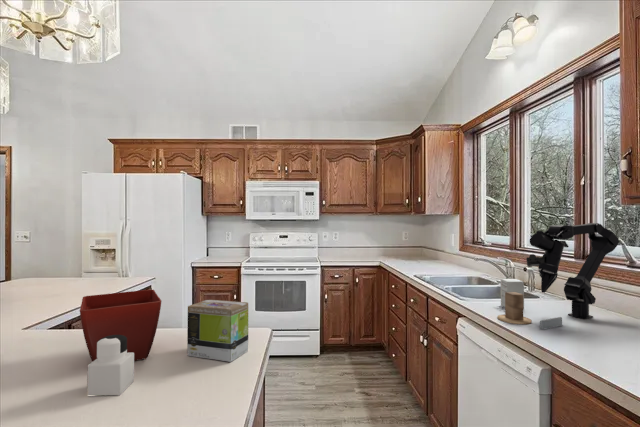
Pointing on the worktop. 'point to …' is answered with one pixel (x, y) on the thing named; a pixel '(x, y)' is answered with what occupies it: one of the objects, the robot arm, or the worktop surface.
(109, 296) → the plant pot
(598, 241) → the robot arm
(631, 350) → the worktop surface
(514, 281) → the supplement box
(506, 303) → the walnut block
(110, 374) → the white stepped block
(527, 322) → the cork coaster
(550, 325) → the divider wall
